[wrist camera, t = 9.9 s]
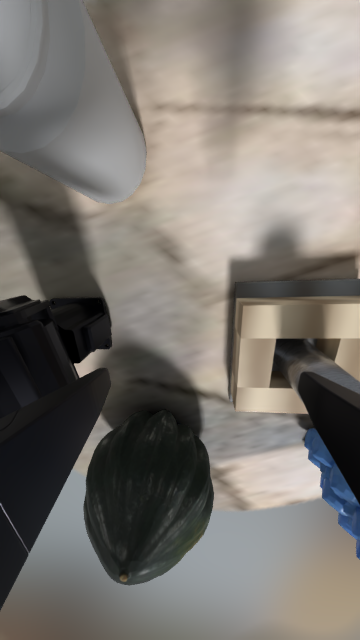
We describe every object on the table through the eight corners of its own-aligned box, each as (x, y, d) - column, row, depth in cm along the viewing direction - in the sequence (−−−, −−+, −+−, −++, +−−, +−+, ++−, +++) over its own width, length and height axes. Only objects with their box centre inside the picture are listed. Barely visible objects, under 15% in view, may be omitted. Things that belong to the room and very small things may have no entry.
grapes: (354, 464, 27) (467, 616, 16) (304, 473, 28) (376, 618, 17) (340, 404, 24) (470, 540, 12) (285, 417, 25) (358, 550, 14)
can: (53, 150, 17) (-217, -43, 6) (110, 80, 15) (-132, -406, 4) (107, 223, 19) (-24, 177, 8) (165, 168, 17) (103, -2, 6)
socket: (228, 396, 25) (234, 421, 21) (235, 282, 20) (244, 288, 16) (325, 398, 24) (349, 426, 20) (358, 278, 19) (398, 284, 15)
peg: (267, 364, 22) (321, 450, 12) (271, 333, 20) (335, 401, 11) (303, 365, 21) (388, 453, 12) (310, 333, 20) (412, 403, 11)
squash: (155, 530, 27) (194, 691, 13) (68, 477, 26) (12, 598, 12) (201, 433, 33) (263, 478, 19) (132, 385, 31) (145, 396, 18)
